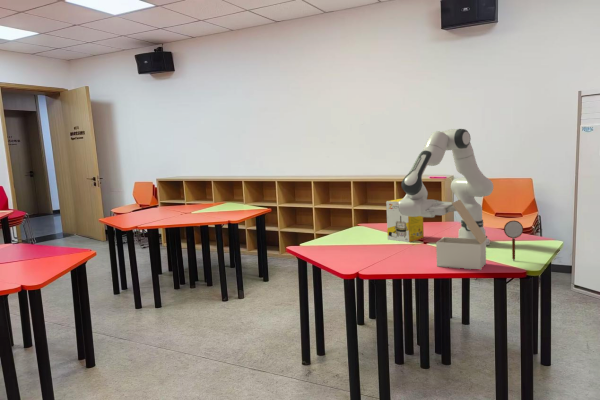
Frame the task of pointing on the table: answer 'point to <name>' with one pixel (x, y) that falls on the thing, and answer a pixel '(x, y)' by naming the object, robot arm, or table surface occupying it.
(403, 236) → the packaging box
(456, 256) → the carton
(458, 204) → the lid flap
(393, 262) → the table surface
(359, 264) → the table surface
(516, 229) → the magnifying glass
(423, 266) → the table surface
